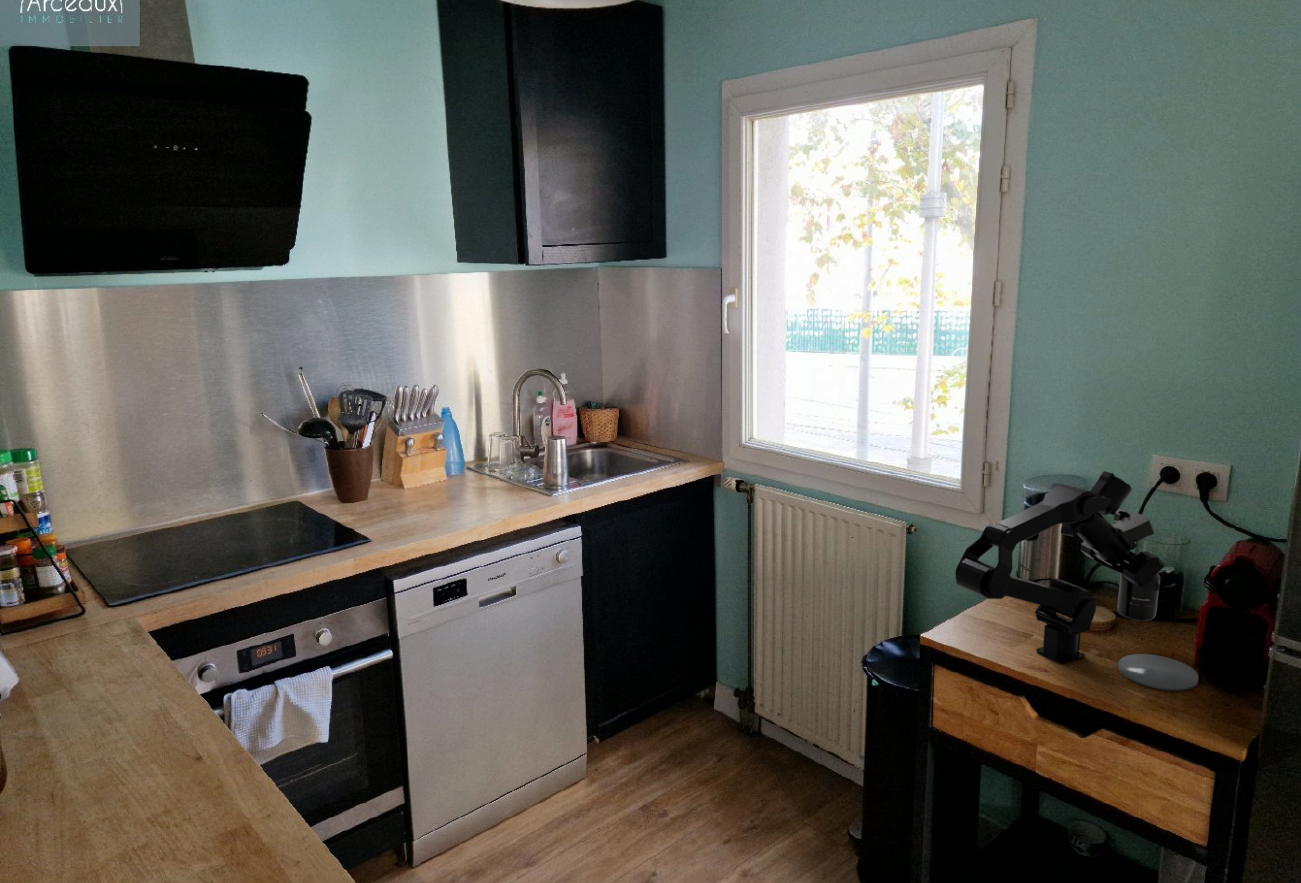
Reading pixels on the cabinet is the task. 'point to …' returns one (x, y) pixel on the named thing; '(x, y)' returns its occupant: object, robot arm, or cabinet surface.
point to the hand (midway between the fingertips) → (1146, 582)
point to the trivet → (1158, 672)
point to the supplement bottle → (1137, 600)
